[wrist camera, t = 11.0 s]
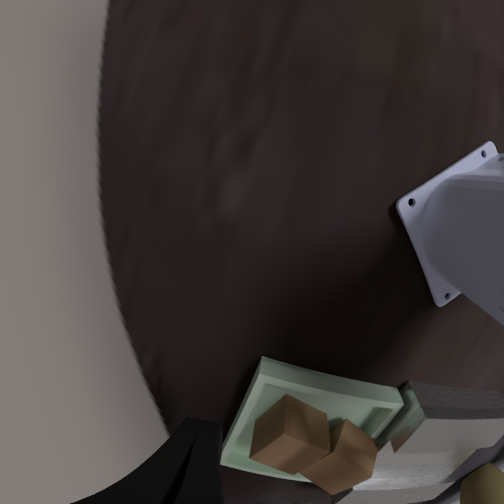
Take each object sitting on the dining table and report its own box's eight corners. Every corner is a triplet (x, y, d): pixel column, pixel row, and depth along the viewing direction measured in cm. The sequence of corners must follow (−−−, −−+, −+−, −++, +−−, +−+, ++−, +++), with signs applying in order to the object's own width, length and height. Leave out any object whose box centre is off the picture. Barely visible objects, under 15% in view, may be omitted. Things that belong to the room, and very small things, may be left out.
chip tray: (397, 387, 18) (404, 404, 16) (328, 469, 21) (330, 483, 19) (261, 356, 19) (259, 373, 17) (220, 447, 22) (216, 463, 20)
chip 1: (331, 452, 15) (284, 433, 15) (293, 475, 16) (248, 458, 16) (326, 413, 19) (286, 393, 19) (294, 438, 20) (255, 420, 20)
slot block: (498, 391, 17) (517, 416, 13) (425, 473, 21) (433, 499, 17) (407, 380, 18) (426, 418, 14) (329, 473, 22) (331, 507, 17)
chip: (379, 443, 17) (371, 477, 13) (344, 463, 18) (332, 495, 15) (346, 418, 18) (333, 451, 15) (313, 440, 20) (296, 471, 16)
